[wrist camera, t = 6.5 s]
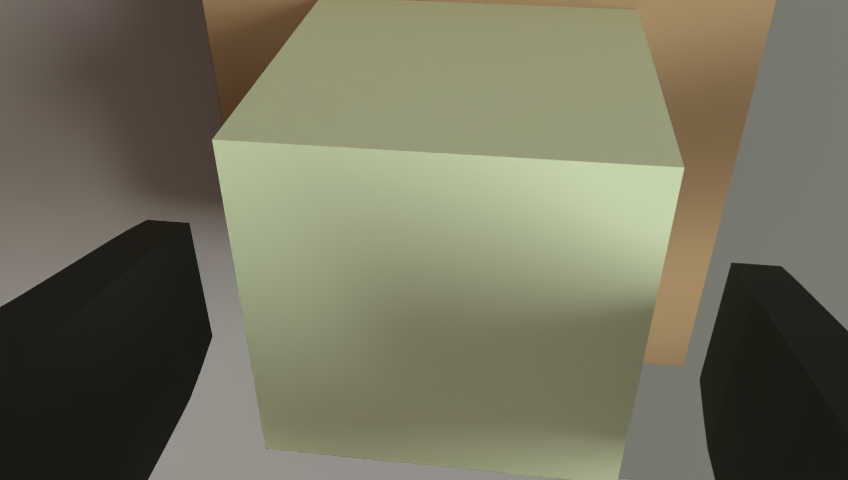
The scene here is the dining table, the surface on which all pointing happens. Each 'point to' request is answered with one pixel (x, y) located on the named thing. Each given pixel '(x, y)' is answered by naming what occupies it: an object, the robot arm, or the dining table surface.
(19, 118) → the dining table surface
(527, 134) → the sage cube
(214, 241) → the dining table surface
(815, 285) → the building mat
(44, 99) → the dining table surface
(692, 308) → the walnut base block
